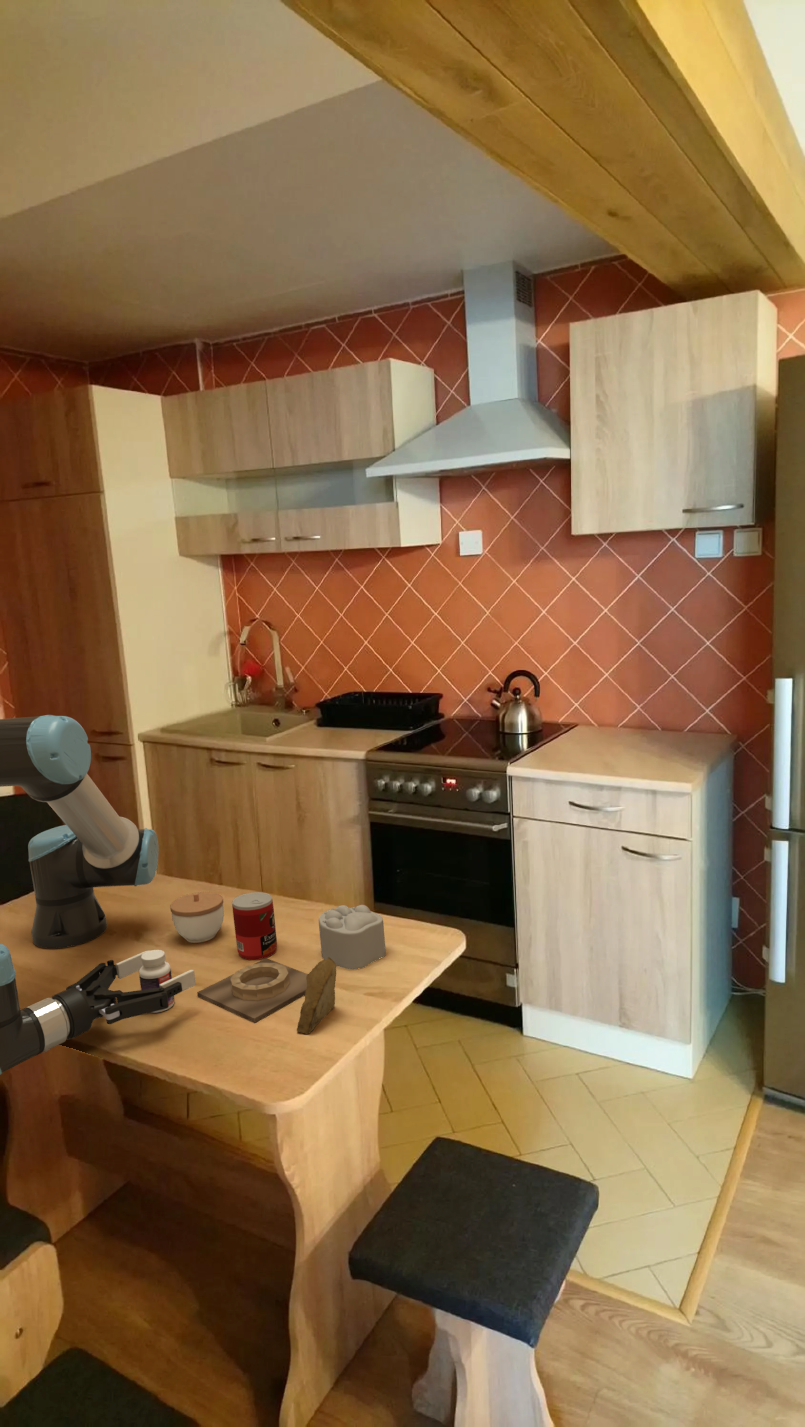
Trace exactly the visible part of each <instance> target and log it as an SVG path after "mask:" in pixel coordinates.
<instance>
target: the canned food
mask: <svg viewBox="0 0 805 1427" xmlns="http://www.w3.org/2000/svg"><path fill="white" fill-rule="evenodd" d="M231 903H232V904H231V905H232V906H231V907H232V918H233V924H234V925H233V926H234V933H235V941H236V942H235V943H236V951H237V953H238V955H239V957H240V958H242V959H244V960H248V961H249V960H253V961H254V960H256V961H257V960H263V959H265V958H269V957H271V956H273V955H274V954H275V953H277V952H276V951H277V948H278V940H277V938H278V937H277V931H276V930H277V929H276V920H275V912H274V911H275V910H274V902H273V896H272V894H269V893H267V892H262V891H261V892H260V891H259V892H258V891H257V892H247V893H244V894H240V895H237V896H236V897H234V898H233V900H232V902H231Z"/></svg>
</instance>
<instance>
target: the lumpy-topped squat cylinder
mask: <svg viewBox="0 0 805 1427" xmlns="http://www.w3.org/2000/svg"><path fill="white" fill-rule="evenodd" d="M318 927H319V928H318V930H319V941H320V949H321V956H322V958H323V960H324V959H325V960H326V959H327V958H328V957H330V958H331V959H332V960H333V961H334V962H335V963H336V967H338V968H343V969H347V970H359V969H358V968H360V969H363V967H364V968H365V966H366V967H367V966H369V965H371V962H372V963H373V961H374V962H376V961H378V960H380V959H379V958H381V957H383V956H384V955H385V954H387V952H386V951H387V950H386V938H385V926H384V919H383V916H382V915H381V914H378V913H377V912H373V911H372V910H370V908H369V907H368V906H367V905H365V904H359V905H357V906H353V907H348V906H347V905H345V904H342V905H338V906H337V907H336V908H334V907H333V908H331V909H328V910H326V911H324V912H322V913H321V914H320V915H319V917H318ZM385 956H386V955H385ZM385 956H384V957H385ZM384 957H383V958H384ZM377 959H378V960H377ZM381 959H382V958H381ZM375 960H376V961H375ZM368 964H369V965H368Z"/></svg>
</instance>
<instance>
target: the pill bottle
mask: <svg viewBox="0 0 805 1427" xmlns="http://www.w3.org/2000/svg"><path fill="white" fill-rule="evenodd" d="M141 961H142V965H143V966H142V967H141V968H140V970H139V971H138V975H139V976H138V977H139V984H140V990H145V989H153V988H160V986H159V984H162V983H164V982H166V981H168V980H170V979H172V978H173V976H172V968H171V965H170V963H169V962H168V961H166V953H165V951H164V950H161V949H153V950H152V949H151V950H148V952H146V953H144V954H143V955H142V956H141ZM174 1004H175V995H174V996H172V997H170V998H168V1005H169V1007H168V1008H166V1009H162V1010H158V1011H154V1012H150V1014H151V1013H152V1014H154V1013H162V1012H165V1011H168V1010H169V1009H171V1008H172V1007H173V1005H174Z"/></svg>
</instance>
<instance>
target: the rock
mask: <svg viewBox="0 0 805 1427" xmlns="http://www.w3.org/2000/svg"><path fill="white" fill-rule="evenodd" d="M306 974H307V976H306V980H307V988H306V993H305V995H304V1001H303V1002H302V1006H301V1008H300V1013H299V1014H300V1015H299V1016H300V1017H299V1020H298V1023H297V1028H296V1032H297V1033H298V1032H299V1033H303V1034H304V1035H305V1034H310V1033H311V1032H312V1031H313V1030H314V1029H315V1028H316V1027H317V1026H318V1025H319V1023H320V1022H321V1021H322V1020H324V1019H325V1017H326V1016H328V1014H329V1013H330V1011H331V1010H332V1009H334V1007H335V1004H336V989H335V988H336V980H337V978H336V977H337V966H336V963H335V962H334V961H333V960H332V959H331V958H330V957H328V958H327V959H326V960H325V959H324V958H323V959H322V960H320V961H319V962H317V964H316V965H315V966H314V967H312V969H311V970H310V971H309V972H308V973H306Z"/></svg>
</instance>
